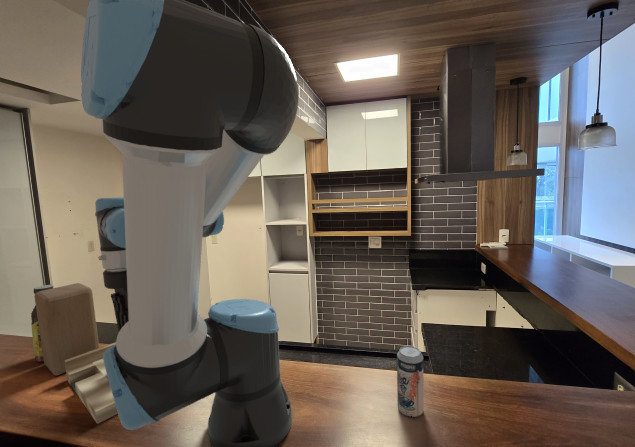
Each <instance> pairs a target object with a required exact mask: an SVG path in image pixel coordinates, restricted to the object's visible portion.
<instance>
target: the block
mask: <svg viewBox="0 0 635 447" xmlns="http://www.w3.org/2000/svg"><path fill="white" fill-rule="evenodd" d="M93 294H94V293H93V289H92V288H91V287H88V285H87V286H86V285H84V284H83V283H81V282H76V283H72V284H67V285H64V286H58V287H53V288H52V289H48V290H43V291H39V292H37V293H35V294H34V297H33V298H34V302H35V305H36V311H37V318H38V324H39V331H40V338H41V345H42V352H43V359H44V361H43V363H44V366H46V367H47V368H48V370H49V371H50V372H51V373H52V374H53V376H59V375H62V374H64V373H65V374H66V368H65V361H64V360H67V359H70V358H73V357H75V356H78V355H81V354H84V353H87V352H89V351H92V350H95V349H98V348H100V344H99V336H98V326H97V319H96V312H95V311H96V310H95V304H94V297H93V296H94V295H93Z"/></svg>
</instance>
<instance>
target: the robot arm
mask: <svg viewBox="0 0 635 447" xmlns="http://www.w3.org/2000/svg"><path fill="white" fill-rule="evenodd" d="M82 40H83V41H82V50H81V62H80V64H81V67H80V68H81V69H80V77H81V78H80V80H81V93H80V94H81V103H82V108H83V111H84V112H85V113H86V114H87V115H89V116H90V117H93V118H95V119H98V120H99V119H101V120H102V130H103V136H104V138H106V139H107V140H108V141H109V142H110V143H111V144H112V145H113V146H114V147H115V148H117V149H118V150H119V151H120V153H121V158H122V159H121V160H122V183H123V186H122V187H123V190H122V191H123V196H120V197H119V196H118V197H100V198H98V199H95V200H96V201H95V202H94V204H95V205H94V206H95V213H94V215H95V217H96V224H97V225H96V226H97V232H98V240H99V247H100V254H101V255H98V261H101V265H102V268H103V269H104V271H103V272H102V275H103V285H104V288H106V289H109V290H114V293H111V294H110V298H111V301H112V305H113V309H114V315H115V320H116V325H117V331H118V333H117V336H116V340H115V342H116V345H115V346H112V347H111V348H109V349H107V350H106V351H105V352H104V353H103V360H104V365H105V369H106V373H107V377H108V380H109V384H110V387H111V390H112V394H113V397H114V402H115V405H116V409H117V412H118V414H117V415H118V418H119V422H120V423H121V425H122V428H124V429H125V430H127V431H136V430H139V429H141V428H143V427H145V426H148V425H149V424H156V423H158V422H160V420H161V419H163V418H166V417H168V416H170V415H172V414H174V413H177V412H178V411H180V410H182V409H185V408H186V407H188V406H190V405H193V404H195V403H197V402H199V401H201V400H203V399H205V398H207V397H209V396H212V395H213V394H214V398H213V400H212V401H213V402H212V406H211V410H210V413H209V417H208V420H207V432H208V440H209V441H208V442H209V443H210V445H211V447H277V446H278V444H280V443H281V442H282V441H283V440H284V439H285V438H286V436H287V435H288V433H289V432H290V430H291V427H292V424H293V422H292V421H293V417H292V416H293V414H292V413H293V412H292V405H291V401H290V399H289V396H288V394H287V392H286V390H285V388H284V384H283V382H282V380H281V369H280V368H281V366H280V364H281V363H280V350H279V349H280V348H279V347H280V346H279V344H280V343H279V333H278V332H279V330H280V329H279V328H280V327H279V324H278V319H277V312H276V310H275V308H274V307H273V306H272V305H270V304H269V303H267V302H264V301H262V300H258V299H257V300H256V299H250V298H249V299H247V298H235V299H228V300H221V301H219V302H216V303H215V304H212V305H211V306H210V308H209V311H208V313H207V315H208V317H207V318H203V317H202V316H201V314H199V312H198V310H199V299H200V298H199V297H200V296H199V295H200V294H199V293H200V282H201V267H202V266H201V263H202V249H203V248H202V247H203V238H208V237H210V236H214V235H215V236H216V235H219V234H221V232H222V231H223V228H224V225H225V216H224V210H225V209H226V208H227V206H228V204H230V202H231V201H232V199H233V198H234V196H236V194H237V193H238V191H239V190H240V188H241V187H242V186H243V184H244V183H245V181H246V180H247V179H248V178H249V176H250V175H251V174H252V173H253V171H254V170H255V168H256V167H257V166H258V164H259V163H260V162H261V160H262V159H263V157H264V156H268V155H271V154H273V153H274V152H277V150H278V149H279V148H280V146H281V145H282V144H283V142H285V140H286V138H287V137H288V136H289V133H290V132H291V130H292V128H293V126H294V123H295V120H296V117H297V113H298V108H299V92H300V91H299V85H298V84H299V83H298V79H297V75H296V74H297V73H296V72H295V71H296V70H295V69H294V66H293V63H292V61H291V59H290V58H289V55H288V54H287V52H286V50H285V49H284V48H283V47H282V45H281V44H280V43H279V42H278V41H277V39H275V37H273V36H272V35H271V34H269V33H268V32H267V31H265V30H264V29H262V28H260V27H258V26H256V25H254V24H250V23H248V22H247V23H246V22H242V21H241V22H240V21H239V20H236V19H233V18H231V17H229V16H226V15H223V14H221V13H218V12H216V11H212V10H210V9H208V8H205V7H203V6H199V5H197V4H195V3H192V2H190V1H187V0H89V3H88V6H87V11H86V17H85V22H84V31H83V39H82Z"/></svg>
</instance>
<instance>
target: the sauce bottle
mask: <svg viewBox="0 0 635 447" xmlns="http://www.w3.org/2000/svg"><path fill="white" fill-rule="evenodd" d="M52 288H54V285H53V284H45V285H39V286H35V287H33V295H35V293H37V292H39V291H43V290H48V289H52ZM30 314H31V315H30V316H31V317H30V320H31V323H30V324H31V334H32V348H33V355H34V358H35V361H36V362H39V363H40V362H41V363H42V362H43V363H44V359H43V352H42V345H41V338H40V331H39V324H38V318H37V311H36V304H35V305H34V308H33V309H32V311H31V313H30Z"/></svg>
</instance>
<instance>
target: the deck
mask: <svg viewBox="0 0 635 447" xmlns="http://www.w3.org/2000/svg"><path fill="white" fill-rule="evenodd" d="M115 345H116V341H115V342H112V343H110V344H106V345H104V346H100V347H99V348H98V349H95V350H92V351H89V352H87V353H84V354H81V355H78V356H75V357H73V358H70V359H67V360H64V361H65V368H66V372H65V374H66V380H67V383H68V384H69V386H70V387H71V388H72V389H73V390H74V392H75V395H77V396H78V398H79V399H80V401H81V403H82V404H83V406H85V408H86V410H87V411H88V413H89V414H90V416H91V417H92V419H93V420H94V421H95V423H96V424H97V425H98V424H101V423H103V422H104V421H107V420H108V419H110V418H112V417H115V415H118V412H117V409H116V405H115V402H114V397H113V394H112V390H111V387H110V384H109V380H108V377H107V373H106V369H105V365H104V360H103V353H104V352H105V351H106V350H107V349H109V348H111V347H112V346H115Z"/></svg>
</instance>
